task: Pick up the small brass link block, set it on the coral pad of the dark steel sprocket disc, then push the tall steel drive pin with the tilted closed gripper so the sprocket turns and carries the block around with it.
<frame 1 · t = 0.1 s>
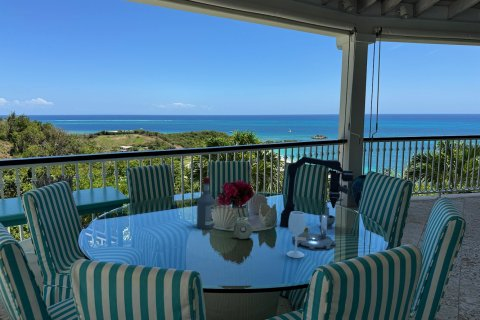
hand: (333, 206, 227), 15 cm above the table, tool pointing down, fingers open, 9 cm apart
base mat: (313, 243, 203), on the table
wineglass: (295, 255, 184), on the table
link block: (303, 233, 221), on the table
stone disc: (242, 238, 207), on the table
liquor: (205, 227, 226), on the table
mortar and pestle: (326, 227, 235), on the table
sprocket: (313, 229, 202), point 7 cm above the table, hinge at 0.0°
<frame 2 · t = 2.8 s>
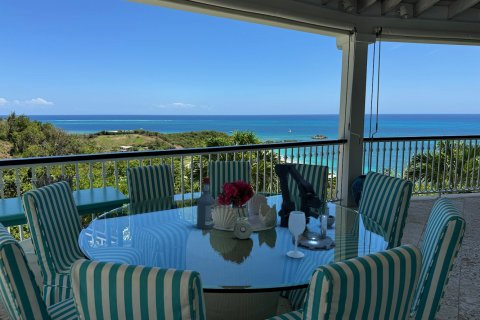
hand: (303, 231, 220), 1 cm above the table, tool pointing down, fingers closed on link block, 4 cm apart
link block: (303, 233, 221), on the table, touching gripper
everything else where it was.
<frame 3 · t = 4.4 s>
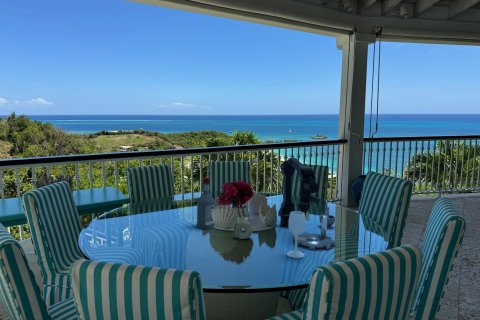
hand: (304, 217, 210), 12 cm above the table, tool pointing down, fingers closed on link block, 4 cm apart
link block: (304, 219, 210), point 11 cm above the table, touching gripper
everything else where it was.
when the fingers open (4 cm above the table, at t = 6.3 s): link block stays where it is, resting on sprocket.
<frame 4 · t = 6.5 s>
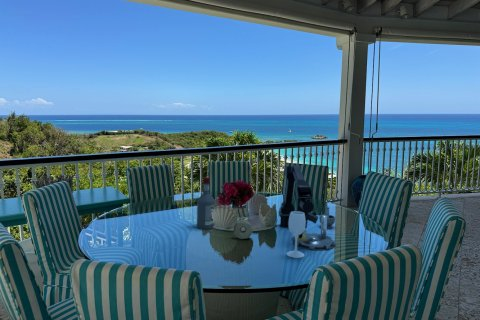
hand: (300, 236, 201), 4 cm above the table, tool pointing down, fingers open, 5 cm apart
link block: (301, 238, 201), point 3 cm above the table, touching sprocket
sprocket: (313, 229, 202), point 7 cm above the table, hinge at 0.0°, touching link block
everything else where it was.
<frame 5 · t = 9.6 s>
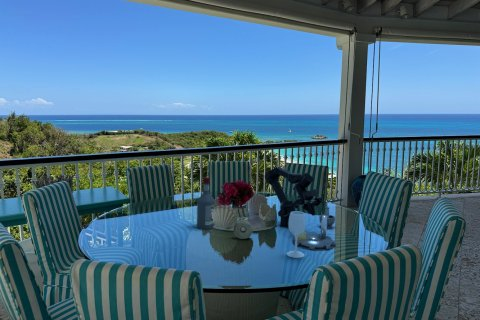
hand: (314, 215, 212), 13 cm above the table, tool tilted 45°, fingers closed
nothing on the table moved.
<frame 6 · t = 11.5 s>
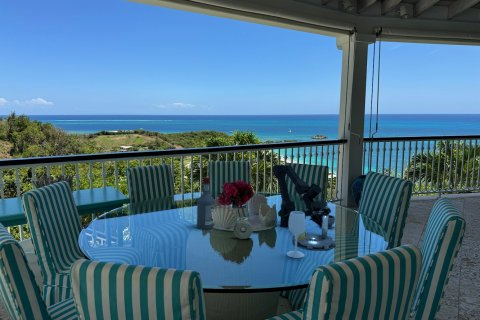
hand: (322, 227, 206), 8 cm above the table, tool tilted 45°, fingers closed, pressing on sprocket
sprocket: (313, 229, 202), point 7 cm above the table, hinge at -5.6°, touching gripper, link block
everything else where it was.
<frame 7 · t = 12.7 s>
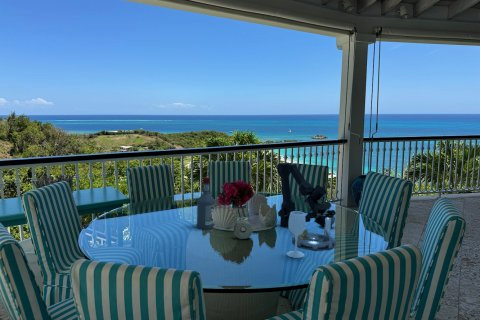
hand: (327, 229, 203), 8 cm above the table, tool tilted 45°, fingers closed
link block: (301, 236, 206), point 3 cm above the table, touching sprocket
sprocket: (313, 229, 202), point 7 cm above the table, hinge at -37.2°, touching link block
everything else where it was.
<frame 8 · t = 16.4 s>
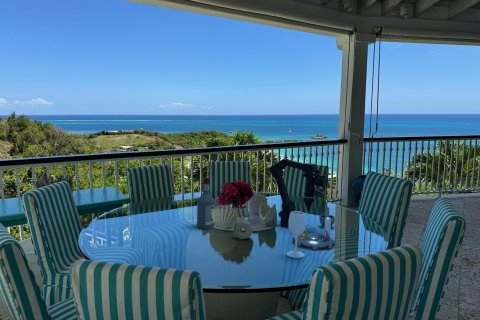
hand: (308, 211, 223), 12 cm above the table, tool pointing down, fingers closed
nothing on the table moved.
at the end: sprocket at -37° (first picture: +0°); link block 6.9 cm from the sprocket (horizontally); link block tilted 0° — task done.
